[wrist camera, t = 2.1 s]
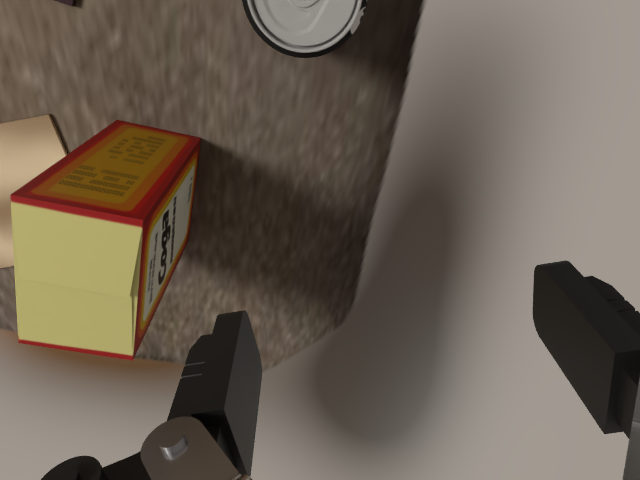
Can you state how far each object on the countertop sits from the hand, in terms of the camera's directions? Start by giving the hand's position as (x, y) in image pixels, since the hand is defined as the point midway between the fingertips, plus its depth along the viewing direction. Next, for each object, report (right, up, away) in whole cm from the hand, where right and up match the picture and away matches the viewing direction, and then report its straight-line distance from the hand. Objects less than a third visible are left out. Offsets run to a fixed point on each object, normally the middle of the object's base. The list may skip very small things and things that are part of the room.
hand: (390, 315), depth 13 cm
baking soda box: (-16, +7, +28) cm, 33 cm away
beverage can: (-3, +20, +22) cm, 29 cm away
